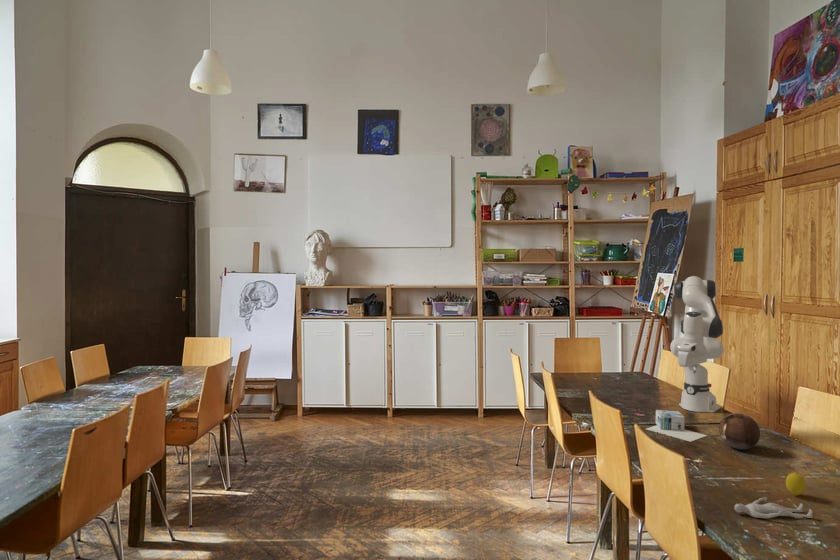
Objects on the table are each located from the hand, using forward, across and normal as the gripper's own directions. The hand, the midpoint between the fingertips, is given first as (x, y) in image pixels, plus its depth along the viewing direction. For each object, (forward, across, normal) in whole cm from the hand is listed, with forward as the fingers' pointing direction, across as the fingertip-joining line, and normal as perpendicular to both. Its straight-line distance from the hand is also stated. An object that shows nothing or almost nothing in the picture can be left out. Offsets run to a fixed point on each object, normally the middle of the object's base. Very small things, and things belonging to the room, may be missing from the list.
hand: (693, 373), depth 249 cm
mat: (+26, +16, 0) cm, 30 cm away
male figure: (+25, +68, +61) cm, 95 cm away
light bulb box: (+23, +7, -2) cm, 24 cm away
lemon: (+25, +47, +60) cm, 80 cm away
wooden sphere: (+26, +14, +27) cm, 40 cm away
